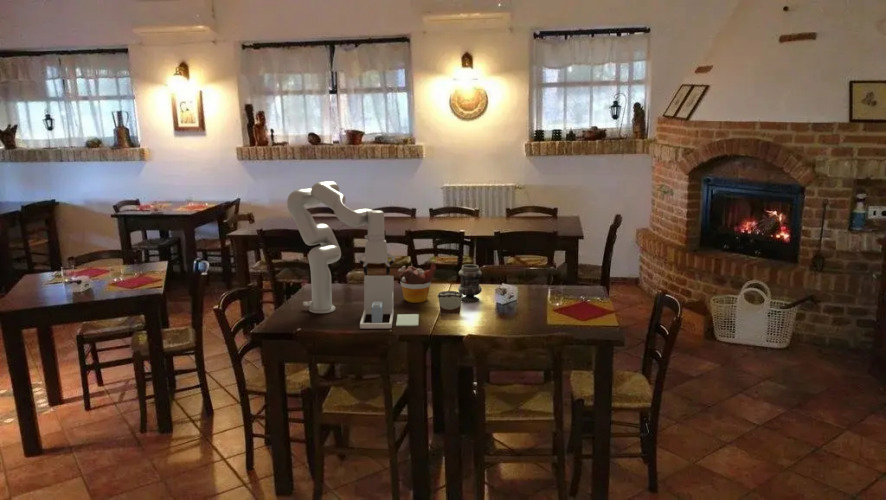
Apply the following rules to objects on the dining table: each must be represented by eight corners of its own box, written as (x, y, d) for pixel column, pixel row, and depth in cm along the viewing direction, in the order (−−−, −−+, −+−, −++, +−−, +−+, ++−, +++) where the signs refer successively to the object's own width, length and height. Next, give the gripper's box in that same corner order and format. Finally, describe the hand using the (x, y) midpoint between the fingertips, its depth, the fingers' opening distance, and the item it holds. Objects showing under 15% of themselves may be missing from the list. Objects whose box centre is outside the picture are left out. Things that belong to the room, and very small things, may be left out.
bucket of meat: (395, 304, 342) (394, 265, 338) (400, 295, 358) (400, 258, 354) (434, 305, 340) (434, 266, 336) (438, 296, 356) (438, 259, 352)
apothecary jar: (482, 297, 355) (482, 263, 352) (481, 303, 344) (481, 269, 340) (458, 296, 357) (459, 262, 353) (457, 302, 345) (457, 268, 341)
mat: (396, 326, 308) (396, 324, 308) (397, 315, 324) (397, 314, 324) (418, 326, 308) (418, 324, 308) (418, 315, 324) (418, 314, 324)
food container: (462, 310, 332) (462, 290, 330) (462, 314, 326) (463, 294, 324) (436, 310, 332) (436, 290, 330) (437, 314, 326) (437, 294, 324)
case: (360, 328, 305) (359, 289, 301) (365, 311, 330) (364, 275, 326) (391, 328, 305) (390, 289, 301) (394, 311, 330) (393, 275, 327)
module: (371, 324, 311) (371, 306, 310) (373, 317, 320) (373, 300, 318) (381, 323, 311) (381, 306, 310) (382, 317, 320) (382, 300, 318)
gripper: (356, 239, 304) (357, 276, 307) (395, 239, 304) (395, 276, 308) (357, 236, 311) (358, 272, 315) (395, 236, 311) (396, 272, 315)
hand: (376, 274), depth 311 cm, fingers open, 9 cm apart
